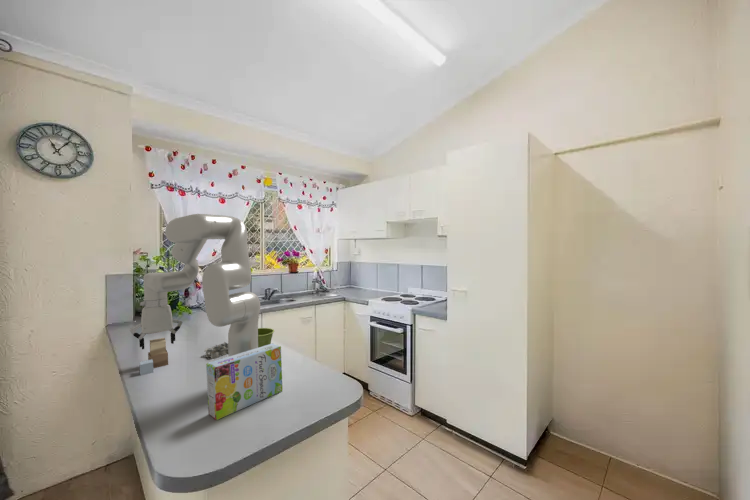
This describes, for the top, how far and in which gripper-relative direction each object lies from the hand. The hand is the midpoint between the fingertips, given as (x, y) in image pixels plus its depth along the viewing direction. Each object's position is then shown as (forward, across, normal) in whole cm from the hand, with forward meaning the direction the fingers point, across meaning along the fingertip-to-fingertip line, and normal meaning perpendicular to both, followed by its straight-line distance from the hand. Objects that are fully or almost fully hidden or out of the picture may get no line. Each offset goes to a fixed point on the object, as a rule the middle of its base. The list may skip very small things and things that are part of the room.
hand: (158, 345), depth 124 cm
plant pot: (+8, +34, -20) cm, 40 cm away
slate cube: (+8, -4, -6) cm, 11 cm away
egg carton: (+8, +22, -3) cm, 24 cm away
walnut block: (+8, 0, 0) cm, 8 cm away
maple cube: (+3, 0, 0) cm, 3 cm away
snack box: (+9, +19, -54) cm, 58 cm away
